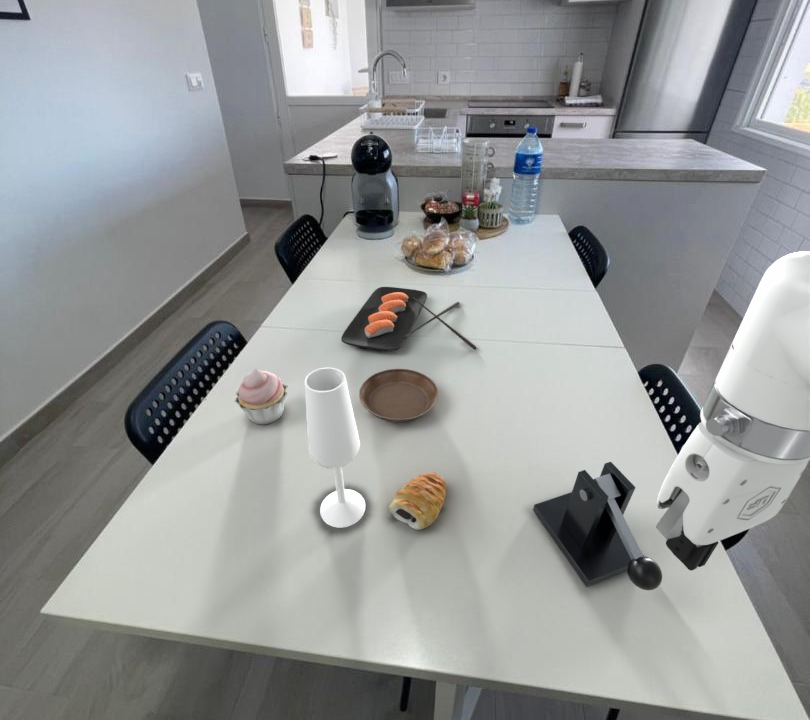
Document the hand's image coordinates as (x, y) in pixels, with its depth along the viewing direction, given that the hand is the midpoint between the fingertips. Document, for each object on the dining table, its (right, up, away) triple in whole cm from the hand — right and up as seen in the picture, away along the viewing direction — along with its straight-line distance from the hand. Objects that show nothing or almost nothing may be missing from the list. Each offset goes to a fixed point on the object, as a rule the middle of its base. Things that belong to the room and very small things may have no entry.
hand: (683, 555), depth 45 cm
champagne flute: (-37, -2, +21) cm, 43 cm away
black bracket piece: (-3, -5, +17) cm, 18 cm away
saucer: (-29, +11, +40) cm, 51 cm away
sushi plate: (-25, +28, +63) cm, 73 cm away
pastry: (-26, -2, +21) cm, 34 cm away
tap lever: (-2, -2, +11) cm, 11 cm away
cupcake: (-54, +10, +38) cm, 66 cm away
